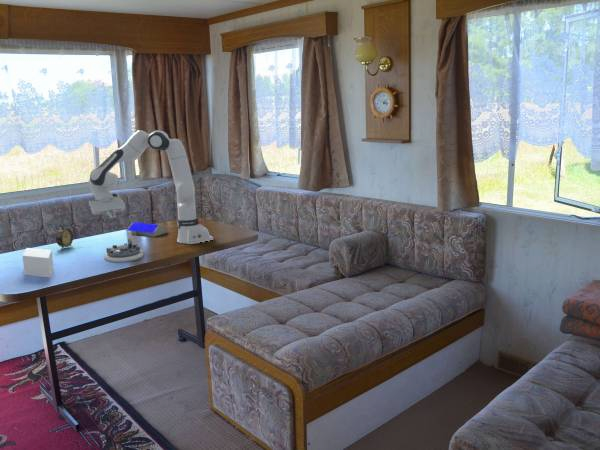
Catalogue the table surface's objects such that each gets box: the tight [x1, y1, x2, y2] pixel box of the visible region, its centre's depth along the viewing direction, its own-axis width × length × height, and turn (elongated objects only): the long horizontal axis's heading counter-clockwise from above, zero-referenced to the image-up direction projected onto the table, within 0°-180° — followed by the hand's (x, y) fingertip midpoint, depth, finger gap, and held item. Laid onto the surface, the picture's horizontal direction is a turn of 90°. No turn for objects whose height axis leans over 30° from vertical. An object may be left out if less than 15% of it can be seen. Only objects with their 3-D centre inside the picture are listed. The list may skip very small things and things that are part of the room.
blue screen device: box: [126, 221, 167, 238], centre depth 361 cm, size 22×14×7 cm, turn 66°
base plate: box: [103, 244, 144, 263], centre depth 306 cm, size 21×21×6 cm
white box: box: [21, 247, 54, 278], centre depth 281 cm, size 14×29×10 cm, turn 46°
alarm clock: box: [55, 221, 74, 251], centre depth 325 cm, size 11×5×16 cm, turn 168°
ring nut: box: [105, 230, 141, 257], centre depth 305 cm, size 18×18×11 cm
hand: (113, 217), depth 323 cm, fingers closed
